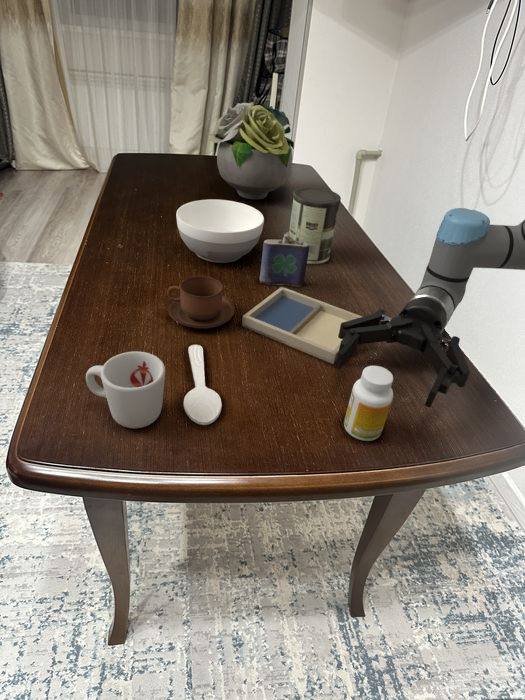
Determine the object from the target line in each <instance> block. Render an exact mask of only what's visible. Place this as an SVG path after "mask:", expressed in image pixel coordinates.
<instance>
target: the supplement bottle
mask: <svg viewBox="0 0 525 700" xmlns="http://www.w3.org/2000/svg"><path fill="white" fill-rule="evenodd" d="M393 382H394V375H393V373H392V372H391V371H389V369H387V368H385V367H383V366H379V365H368V366H366V367H364V369H363V370H362V373H361V376H360V378H359V379H357V380H356V381H355V382H354V384H353V387H352V389H351V394H350V397H349V401H348V404H347V409H346V413H345V416H344V421H343V426H344V429H345V431H346V432H347V434H349V436H351V437H353V438H355V439H357V440H360V441H362V442H363V441H364V442H370V441H371V442H372V441H374V440H376V439H378V438H379V437H381V435H382V433H383V430H384V427H385V424H386V421H387V418H388V416H389V415H388V414H389V411H390V409H391V406H392V402H393V399H394V390H393V388H392V386H393Z"/></svg>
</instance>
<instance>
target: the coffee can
mask: <svg viewBox="0 0 525 700" xmlns="http://www.w3.org/2000/svg"><path fill="white" fill-rule="evenodd" d="M292 196H293V199H292V207H291V214H290V223H289V230H288V232H290V237H291V238H292V239H293V240H297V241H298V240H301V241H302V242H306V243H307V244H309V253H308V259H307V265H320V264H324V263H326V262H328V261H329V260H330V259H331V258H330V257H331V250H332V245H333V239H334V233H335V230H336V229H335V228H336V223H337V218H338V212H339V207H340V203H341V200H342V198H341V196H340V194H339V193H337V192H336V191H332V190H329V189H326V188H321V187H313V186H305V187H299V188H296V189H295V190H294V191H293V194H292ZM299 242H300V241H299Z"/></svg>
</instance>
